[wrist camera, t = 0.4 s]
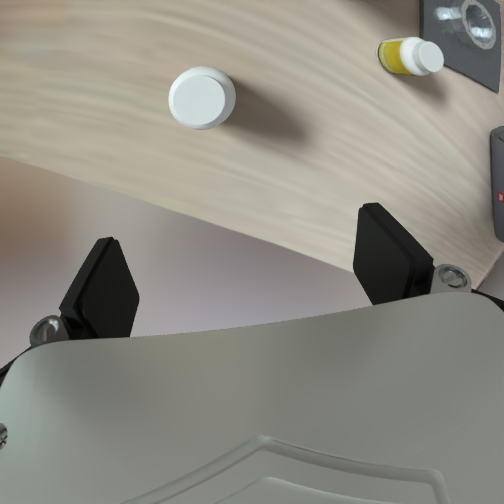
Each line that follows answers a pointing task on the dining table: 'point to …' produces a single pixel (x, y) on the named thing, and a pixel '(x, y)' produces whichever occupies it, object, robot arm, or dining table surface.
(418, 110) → the dining table surface
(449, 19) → the duct collar
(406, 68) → the supplement bottle
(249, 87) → the dining table surface
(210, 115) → the supplement bottle
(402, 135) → the dining table surface
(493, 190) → the bluetooth speaker
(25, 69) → the dining table surface
